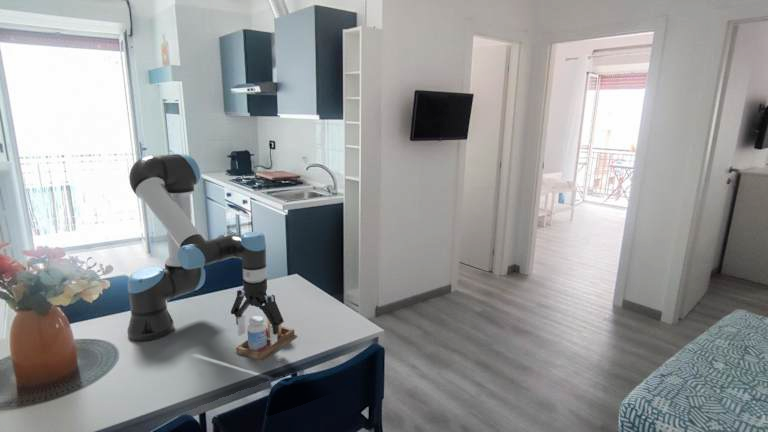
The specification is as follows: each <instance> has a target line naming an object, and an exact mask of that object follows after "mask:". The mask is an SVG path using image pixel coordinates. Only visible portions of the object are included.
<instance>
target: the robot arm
mask: <svg viewBox="0 0 768 432" xmlns="http://www.w3.org/2000/svg"><path fill="white" fill-rule="evenodd" d="M128 179H129V185H130V187H131V189H132V191H133V192H134V194H135V195H136V197H137V198H138V199H140V200H143V201H144V202H145V204H146V205H147V206H148V208H149V209H150V210H151V212H152V213H153V215H154V216H155V217H156V218H157V220H158V221H159V222H160V224H161V225H162V226H163V228H164V230H165V231H166V235H167V236H166V237H167V251H168V258H166V259H165V261H164V268H163V267H160V266H151V267H144V268H141V269H139V270H136V271H134V272H132V273H131V274H130V276H129V277H128V279H127V292H128V297H129V298H128V299H129V305H130V306H129V308H130V319H129V322H128V323H129V324H128V327H127V337H128V339H130V340H132V341H136V342H146V341H153V340H158V339H160V338H163V337H166V336H168V335H169V334H171V333H172V331H174V328H175V325H174V320H173V317H172V315H171V313H170V312H169V310H168V307H167V306H168V305H167V301H169V300H171V299H175V298H177V297H180V296H183V295H184V296H185V295H186V294H191V293H194V291H196V290H199V289H200V288H201V287H202V286H204V283H205V281H206V270H205V268H204V266H208V265H212V264H215V263H218V262H222V261H226V260H229V259H231V258H233V259H238V260H241V263H242V265H241V266H242V279H243V280H242V283H243V284H242V286H243V287H242V288H241V289H239V290H238V289H237V291H236V298H235V300H234V302H233V305H232V307H231V310H230V314H231V315H234V316H235V320H236V322H235V323H236V325H237V335H238V336H242V335H243V334H245V333H246V318H245V317H246V315H245V314H244V313H245V311H246V310H247V309H248V308H249V306H251V307H255V308H259V310H261V311H262V312H263V314H264V315H265V317H266V319H267V318H268V320H269V321H270V323H271V324H272V325H270V344H274V343H275V342H276V341H277V333H278V332H279V325H280V324H281V325H282V324H283V323H284V318H283V315H282V314H281V311H280V309H279V306H278V304H277V302H276V298H275V297H276V296H275V294H271V295H267V289H268V279H267V277H268V275H267V274H268V272H267V270H268V269H267V255H266V254H267V251H266V250H267V248H266V247H267V244H266V238H265V234H264V233H263V232H261V231H247V232H244V233H243V234H241V235H239V234H236V233H233V232H223V233H220V235H218V236H217V237H216V238H212V239H208V240H206V239H205V238H204V237H203V236H202V234H201V233H200V232H199V231H198V229H197V228H196V226H195V225H194V224H193V222H192V208H191V207H192V206H191V195H192V194H193V193H194V191H195V185H197V184H198V183H199V182H200V181H201V170H200V167H199V164H198V162H196V159H194V158H193V157H192V156H191V155H188V154H183V153H182V154H181V153H174V154H159V155H146V156H142V157H141V158H139V159H138V160H137V161H135V162H134V163H133V165H132V167H131V169H130V172H129V178H128ZM244 298H246V299H245V300H244ZM243 300H244V301H243ZM274 321H275V322H274Z"/></svg>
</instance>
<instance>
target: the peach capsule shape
mask: <svg viewBox="0 0 768 432" xmlns="http://www.w3.org/2000/svg"><path fill="white" fill-rule="evenodd" d="M274 322H275V321H274ZM270 325H272V324H271V323H270V321H269V320H268V318H267V317H266V328H267V337H268V338H270ZM281 326H282V324H280V325H279V332H278V333H277V339H279V338H280V337H282V327H283V326H282V327H281Z"/></svg>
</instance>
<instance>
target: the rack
mask: <svg viewBox="0 0 768 432" xmlns="http://www.w3.org/2000/svg"><path fill="white" fill-rule="evenodd" d="M281 327H282V337H280V338H279V339H277V341H276V342H275V343H274V344H270V338H268V337H267V347H266V348H265V349H263V350H262V351H261V352H257V351H254V350H250V349H248V339H247V340H245V341H243V342H242V343H241V344H239V345H238V346H236V347H235V351H234V353H235V354H239V355H242V356H246V357H249V358H253V359H256V360H259V361H264V360H266V359H267V358H268V357H270V356H271V355H273V354H274V353H275V352H276V351H278V350H279V349H281V348H282V347H283V346H285V345H286V344H288V342H290V341H291V340H293V339H294V338H295V337H297V334H295V329H294V328H289V327H285V326H282V325H281ZM266 336H267V327H266Z"/></svg>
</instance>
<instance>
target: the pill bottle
mask: <svg viewBox="0 0 768 432" xmlns="http://www.w3.org/2000/svg"><path fill="white" fill-rule="evenodd" d="M264 322H265V321H264V317H263V316H260V315H256V316H255V315H254V316H252V317H250V318H249V325H248V326H247V340H248V349H250V350H254V351H257V352H261V351H262V350H263V349H265V348H266V347H267V336H266V328H267V324H265V323H264Z"/></svg>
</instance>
